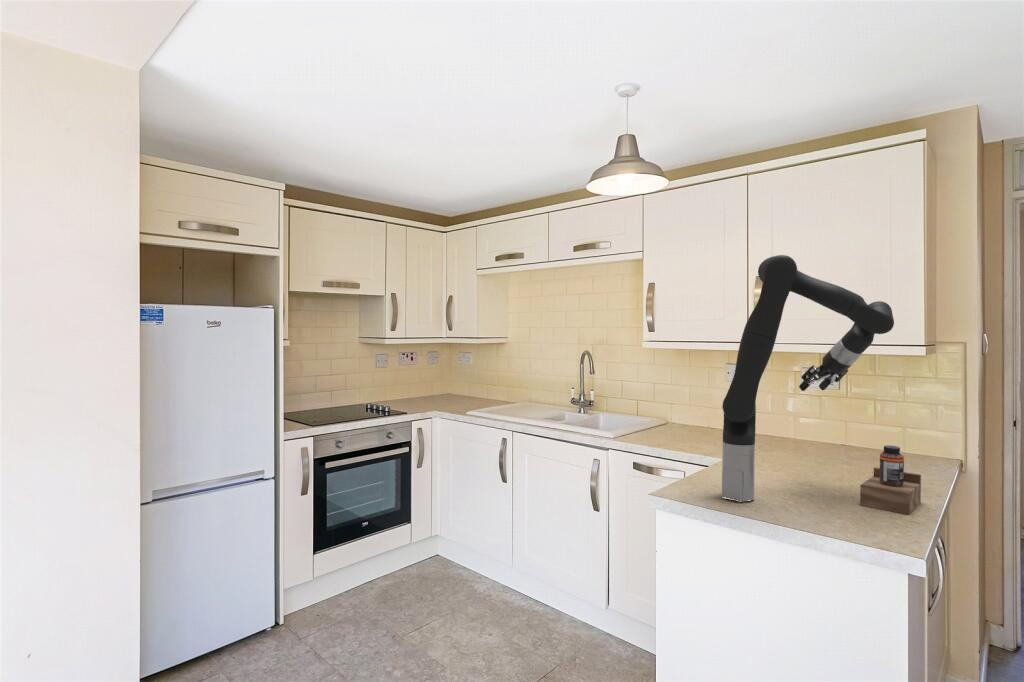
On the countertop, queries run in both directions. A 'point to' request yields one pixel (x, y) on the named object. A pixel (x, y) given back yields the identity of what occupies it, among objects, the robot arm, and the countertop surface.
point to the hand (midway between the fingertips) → (811, 388)
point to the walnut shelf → (892, 493)
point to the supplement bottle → (891, 466)
